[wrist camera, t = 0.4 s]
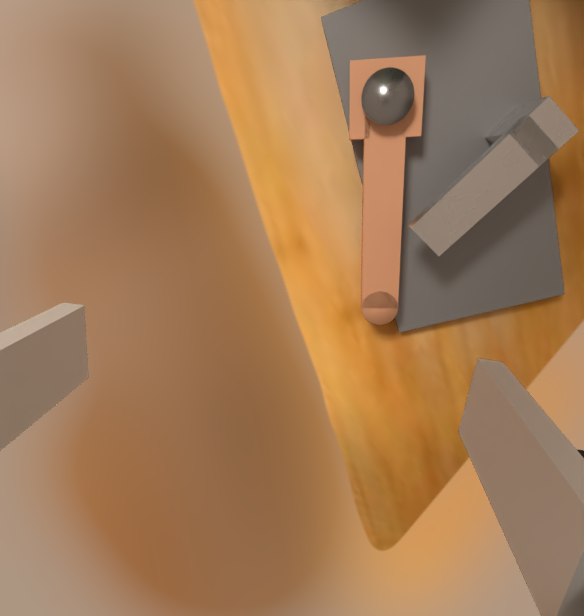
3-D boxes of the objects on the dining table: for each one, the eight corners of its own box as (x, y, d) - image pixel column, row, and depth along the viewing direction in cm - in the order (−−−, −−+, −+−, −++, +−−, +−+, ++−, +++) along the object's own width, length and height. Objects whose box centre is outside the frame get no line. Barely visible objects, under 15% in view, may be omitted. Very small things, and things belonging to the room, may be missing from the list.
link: (349, 66, 32) (350, 60, 30) (420, 61, 31) (425, 55, 29) (348, 316, 39) (348, 324, 37) (407, 316, 38) (410, 325, 36)
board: (321, 21, 33) (321, 16, 31) (515, -55, 30) (521, -63, 29) (397, 327, 40) (399, 332, 39) (558, 290, 37) (564, 294, 36)
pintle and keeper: (360, 78, 32) (363, 64, 28) (553, 65, 31) (593, 48, 26) (358, 244, 37) (360, 257, 32) (528, 241, 35) (557, 255, 30)
